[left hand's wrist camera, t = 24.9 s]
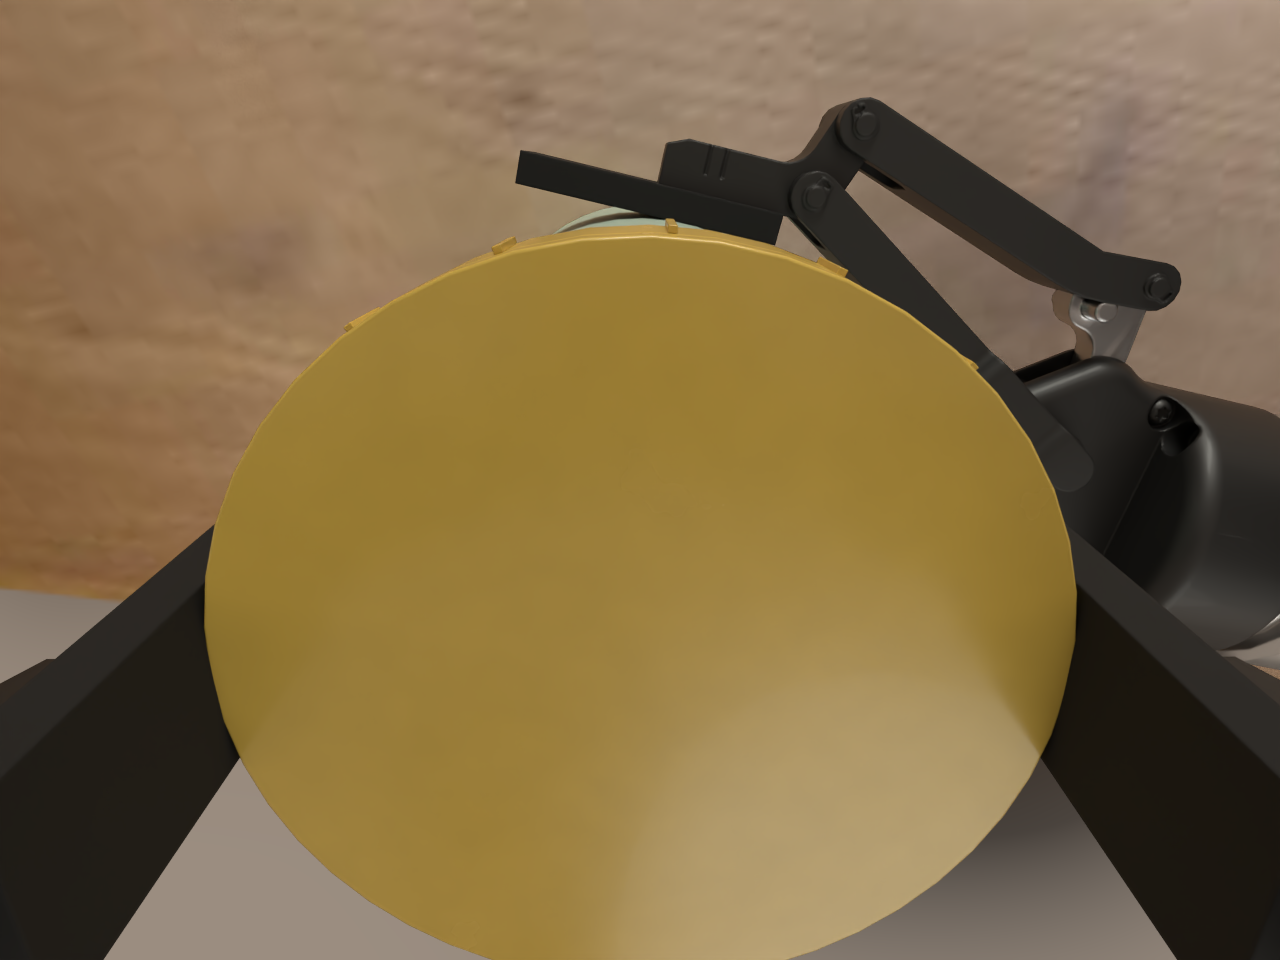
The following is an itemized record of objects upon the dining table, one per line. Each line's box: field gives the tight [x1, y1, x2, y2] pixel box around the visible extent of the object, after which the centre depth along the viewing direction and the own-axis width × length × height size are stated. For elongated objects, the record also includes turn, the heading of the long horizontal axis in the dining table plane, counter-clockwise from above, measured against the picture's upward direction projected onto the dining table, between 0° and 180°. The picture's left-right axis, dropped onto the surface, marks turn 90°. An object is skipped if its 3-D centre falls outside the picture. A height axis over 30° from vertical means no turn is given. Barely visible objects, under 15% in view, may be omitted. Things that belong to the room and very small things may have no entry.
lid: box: [204, 219, 1077, 960], centre depth 11 cm, size 11×11×2 cm
